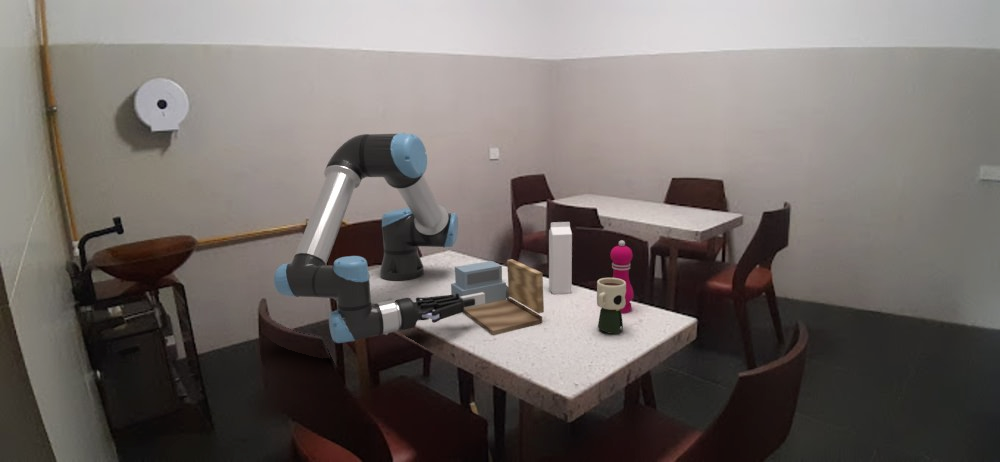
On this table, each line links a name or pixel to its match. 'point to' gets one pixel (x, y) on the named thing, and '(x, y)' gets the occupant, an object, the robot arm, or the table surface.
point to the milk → (560, 258)
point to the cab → (480, 281)
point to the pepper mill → (623, 270)
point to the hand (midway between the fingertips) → (483, 297)
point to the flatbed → (503, 316)
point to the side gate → (525, 285)
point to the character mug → (611, 303)
